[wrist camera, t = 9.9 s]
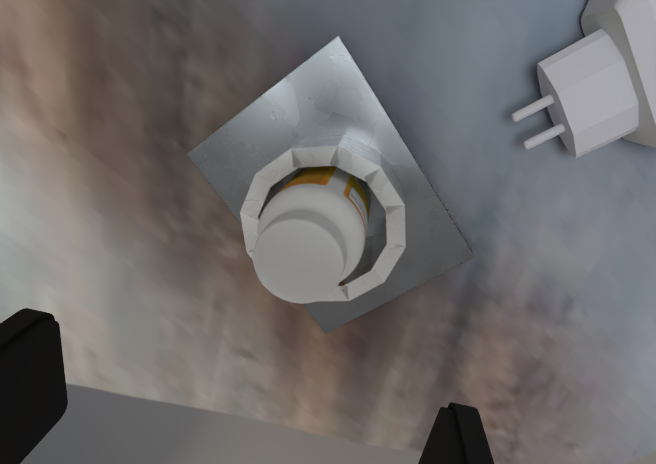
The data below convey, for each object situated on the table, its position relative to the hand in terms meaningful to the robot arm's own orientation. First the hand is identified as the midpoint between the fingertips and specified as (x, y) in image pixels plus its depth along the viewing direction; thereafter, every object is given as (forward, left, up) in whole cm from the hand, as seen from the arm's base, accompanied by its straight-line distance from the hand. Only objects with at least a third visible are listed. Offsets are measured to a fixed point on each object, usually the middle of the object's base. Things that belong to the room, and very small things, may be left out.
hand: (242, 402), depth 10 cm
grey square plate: (0, 0, -19) cm, 19 cm away
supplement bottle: (0, 0, -18) cm, 18 cm away
